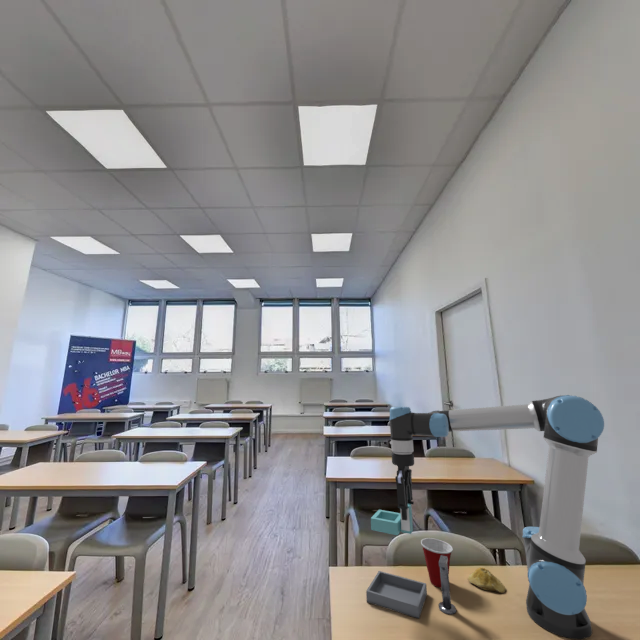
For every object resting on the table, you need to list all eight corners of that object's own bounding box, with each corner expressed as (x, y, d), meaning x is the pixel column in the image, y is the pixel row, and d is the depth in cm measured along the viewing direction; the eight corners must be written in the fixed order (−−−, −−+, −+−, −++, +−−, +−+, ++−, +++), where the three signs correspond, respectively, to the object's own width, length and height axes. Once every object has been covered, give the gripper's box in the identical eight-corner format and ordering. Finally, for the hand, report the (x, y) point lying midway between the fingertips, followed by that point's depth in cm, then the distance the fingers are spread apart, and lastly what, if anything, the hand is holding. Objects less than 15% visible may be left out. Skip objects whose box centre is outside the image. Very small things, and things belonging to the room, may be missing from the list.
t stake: (456, 606, 95) (452, 557, 98) (455, 616, 91) (450, 565, 94) (439, 601, 98) (435, 553, 101) (437, 611, 93) (433, 561, 96)
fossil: (502, 563, 109) (494, 575, 101) (509, 583, 106) (502, 598, 99) (471, 561, 115) (461, 572, 108) (477, 580, 113) (468, 594, 106)
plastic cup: (461, 593, 102) (457, 551, 105) (428, 592, 102) (425, 550, 105) (449, 574, 112) (446, 537, 115) (419, 573, 113) (417, 536, 116)
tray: (426, 594, 101) (426, 583, 102) (419, 618, 90) (418, 606, 91) (379, 580, 109) (378, 570, 109) (366, 602, 98) (366, 590, 98)
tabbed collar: (414, 527, 105) (413, 501, 107) (408, 537, 97) (407, 509, 99) (379, 520, 111) (378, 495, 113) (371, 529, 103) (370, 503, 105)
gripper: (397, 448, 116) (401, 517, 111) (385, 455, 103) (389, 535, 97) (418, 449, 113) (423, 521, 107) (408, 457, 99) (413, 540, 94)
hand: (407, 527), depth 102 cm, fingers closed on tabbed collar, 3 cm apart
